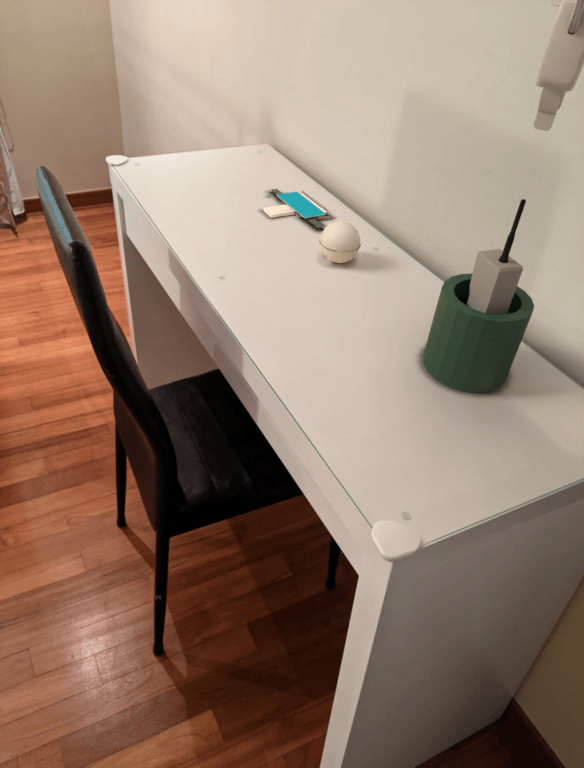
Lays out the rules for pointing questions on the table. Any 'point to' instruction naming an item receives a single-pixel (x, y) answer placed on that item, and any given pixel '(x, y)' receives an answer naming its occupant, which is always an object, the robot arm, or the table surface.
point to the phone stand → (298, 208)
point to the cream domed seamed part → (340, 242)
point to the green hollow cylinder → (474, 339)
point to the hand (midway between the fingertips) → (546, 117)
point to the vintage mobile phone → (495, 276)
